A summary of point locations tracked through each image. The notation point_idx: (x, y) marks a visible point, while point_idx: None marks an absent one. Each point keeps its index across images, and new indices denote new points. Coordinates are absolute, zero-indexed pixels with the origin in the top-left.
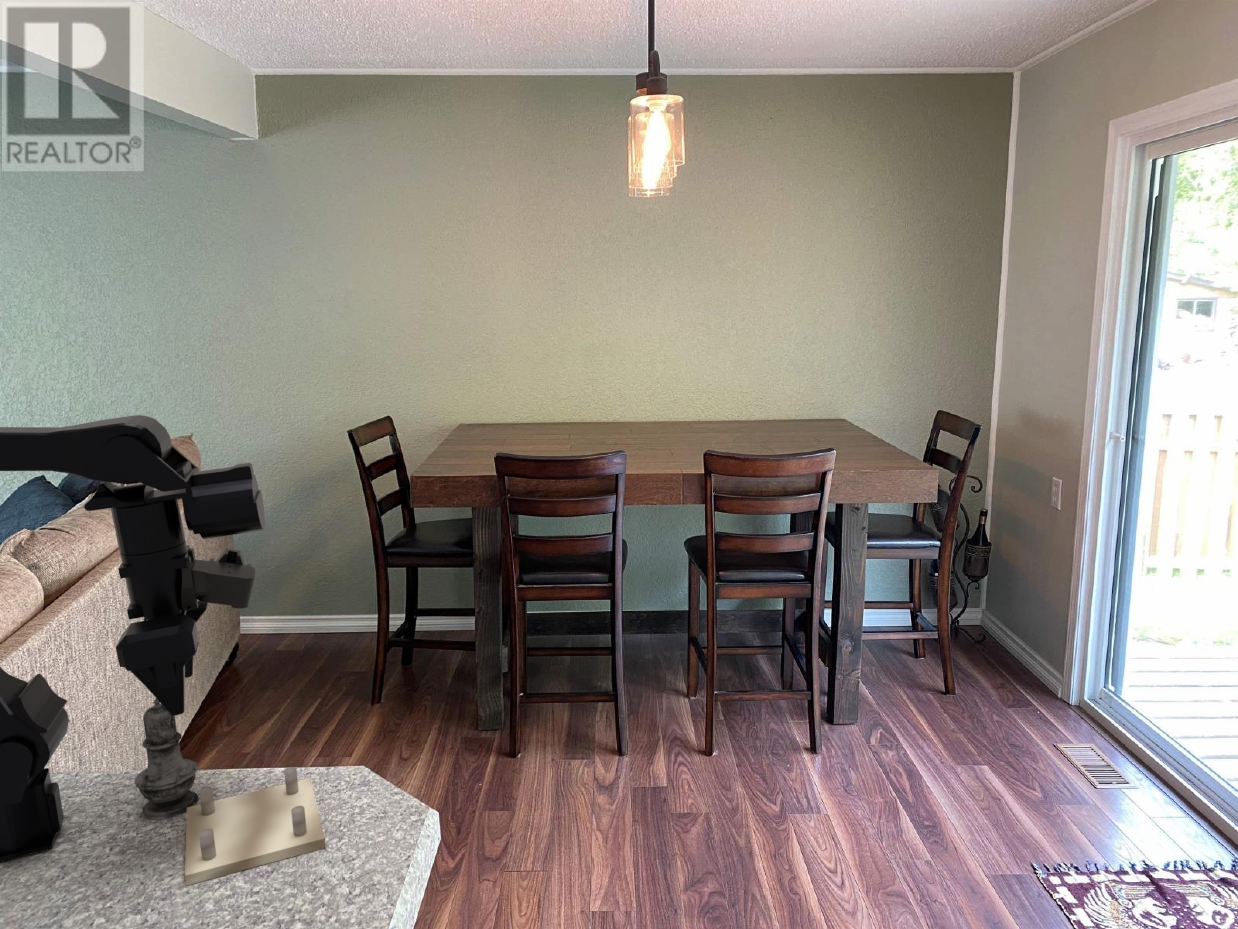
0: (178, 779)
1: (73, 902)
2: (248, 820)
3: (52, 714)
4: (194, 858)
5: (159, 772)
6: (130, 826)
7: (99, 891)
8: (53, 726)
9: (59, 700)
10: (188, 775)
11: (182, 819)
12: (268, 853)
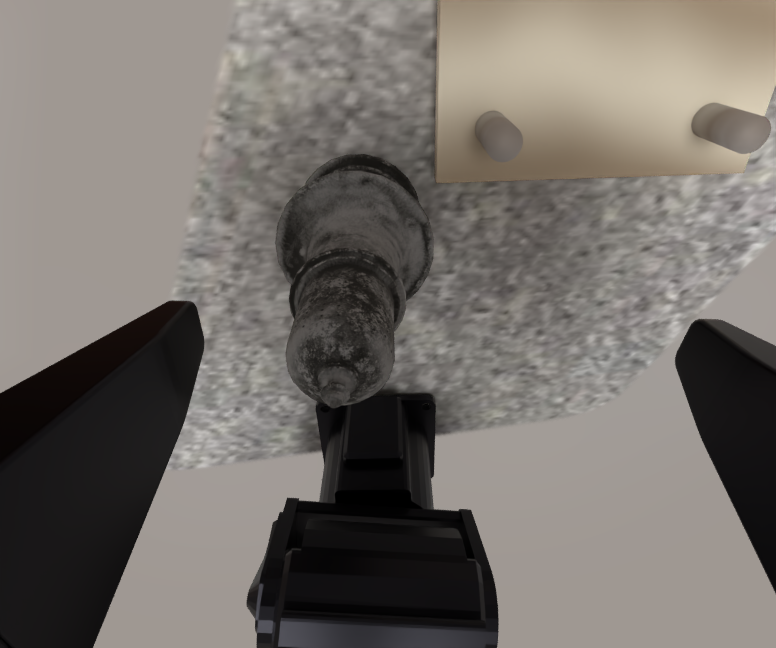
0: (412, 220)
1: (623, 345)
2: (605, 9)
3: (395, 635)
4: (688, 155)
5: (398, 274)
6: None
7: (619, 313)
8: (398, 597)
9: (302, 639)
10: (398, 195)
11: (439, 187)
12: None
